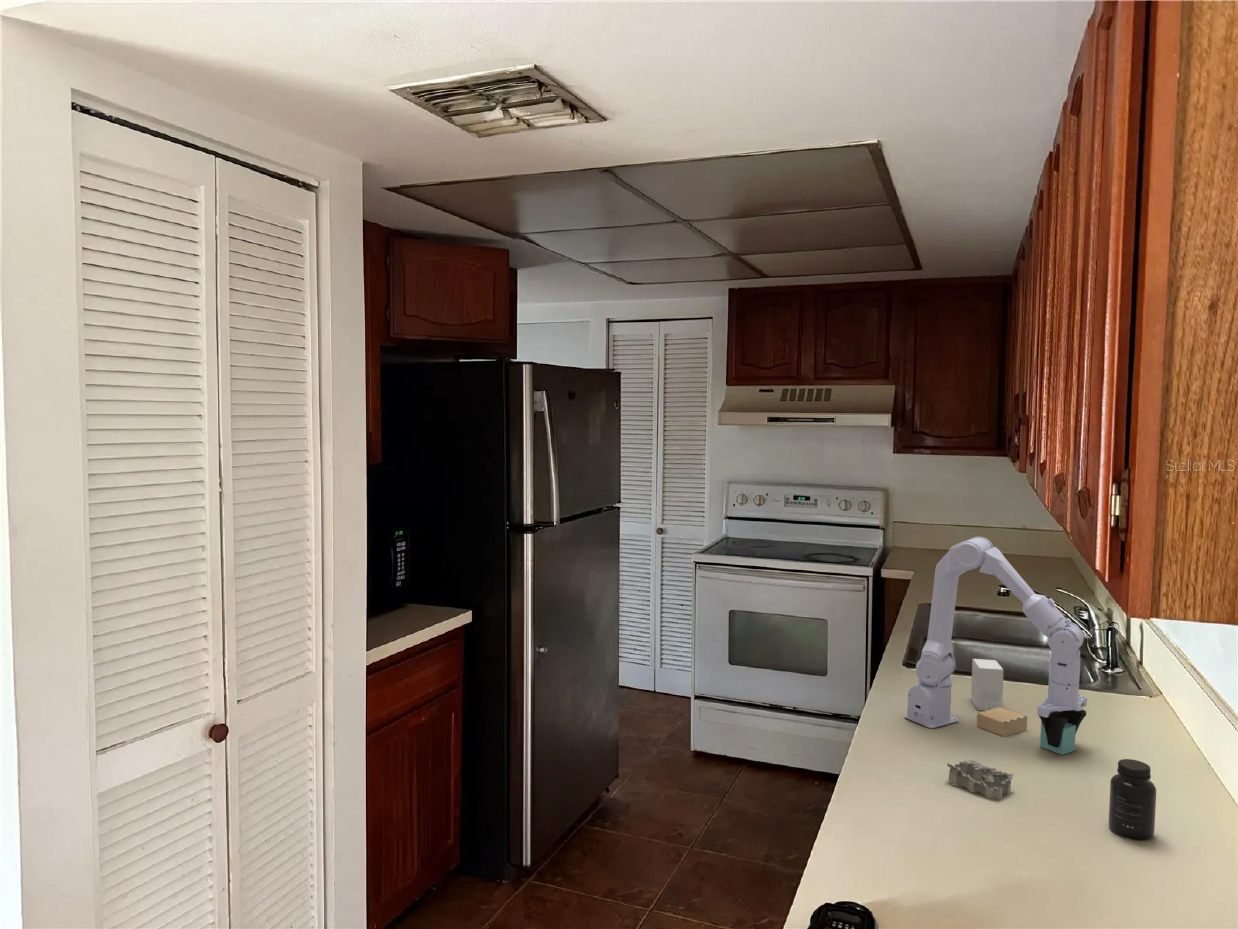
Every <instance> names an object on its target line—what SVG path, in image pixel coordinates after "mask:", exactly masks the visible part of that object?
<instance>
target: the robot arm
mask: <svg viewBox="0 0 1238 929" xmlns="http://www.w3.org/2000/svg"><path fill="white" fill-rule="evenodd" d="M978 567H980V569H979V570H978V572H979V573H983V574H987V575H991V576H995V577H996V578H997V579H998V580H999V581H1000V582H1001V583H1002V584H1003V585H1004V586H1005V588H1007V589H1008V590H1009V591H1010V592H1011V593H1012V594H1013V595H1014V596H1015V597H1016V598H1017V599H1018V600H1019V602H1021V603H1022V612H1023V614H1024V615H1025V616H1026V617H1027V618H1028V620H1030V621H1031V623H1033V625H1034V626H1035V627H1036V628H1037V629H1038V630H1039V632H1041V633H1042V635H1043V636H1045V637H1046V638H1047V645H1048V646H1049V649H1050V658H1049V671H1048V672H1049V673H1048V685H1047V686H1048V688H1047V689H1048V690H1047V698H1046V699H1044V701H1043V702H1042V703H1041V704H1040V705H1037V710H1036V712H1037V713H1036V715H1038V717H1039V719H1040V721H1042V723H1043V725H1044V728H1045V732H1046V736H1047V741H1048V745H1051V746H1053V747H1056V748H1058V747H1059V745H1060V742H1061V737H1062V732H1063V728H1064V726H1065V724H1066V722H1067V723H1070V724H1073V725H1076V733H1075V736H1076V735H1077V732H1078V729H1079V727H1080V725H1081V723H1082V721H1083V720H1084V719H1085V717H1086V716H1087V710H1084V708H1085V707H1087V705H1088V704H1087V703H1088V697H1086V696H1083V695H1082V694H1081V695H1080V694H1079V692H1080V690H1079V688H1080V676H1081V649H1080V648H1081V646H1082V645H1083V643H1084V639H1085V636H1084V633H1083V631H1082V629H1081V628H1080V626H1079V625H1078V624H1077V623H1074V622H1072V620H1071V619H1070V618H1069V617H1065V616H1064V615H1063V614H1062V612H1061V611H1060V610H1059V609H1058V608H1057V606H1055V605H1054V604H1056V602H1055V601H1054V600H1053V598H1051V597H1050V598H1048V597H1047V596H1046V595H1043V594H1037V593H1035V591H1034V590H1033V589H1032V588H1031V587H1030V586H1029V585H1028V583H1027V582H1026V580H1024V579H1023V577H1022V576H1021V575H1020V574H1019V573H1018V572H1017V570H1016V569H1015V568H1014V567H1013V565H1012V564H1011V563H1010V562H1009V560H1007V559H1006V557H1005V556H1004V555H1003V553H1002V552H1001V551H1000V549H999V548H997V547H996V546H994V545H993V543H992V542H991V541H990V540H989V539H988V538H986V537H983V536H974V537H971V538H969V539H967V540H964V541H961V542H959V543H957V544H955V545H952V546H951V547H950V548H949V550H948V552H947V553H946V554H945V555H943V557H942V558H941V559H940V560H939V561H938V563H936V565H935V570H934V578H933V587H932V588H933V589H932V594H931V595H932V598H931V603H930V604H931V605H930V612H929V614H930V615H929V620H928V621H929V623H928V631H927V638H926V642H925V644H924V646H923V648H922V650H921V656H920V658H919V660H918V661H917V663H916V665H915V673H916V676H917V678H918V680H917V683H916V684H915V685H912V687H910V689H909V690H908V694H907V710H906V714H905V715H903V717H904V718H905V719H908V720H910V721H912V722H914V723H917V724H919V725H922V726H924V727H927V728H929V729H935V728H939V727H942V726H947V725H951V724H954V723H958V722H959V718H956V717H955V716H954V717H953V716H951V709H952V708H951V706H952V705H951V704H952V679H951V674H953V673H954V672H955V670H956V660H955V657H954V645H953V643H952V637H953V628H954V620H955V612H956V611H955V610H956V602H957V597H958V596H957V595H958V594H957V593H958V587H959V580H960V579H959V578H960V576H961V575H963V574H965V573H966V572H967V571H971V570H975V569H977V568H978Z"/></svg>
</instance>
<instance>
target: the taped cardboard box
mask: <svg viewBox="0 0 1238 929" xmlns="http://www.w3.org/2000/svg"><path fill="white" fill-rule="evenodd" d="M1027 725H1028V716H1027V715H1022V714H1019V713H1017V712H1014V711H1011V710H1008V709H1005V708H1003V707H1002V708H1000V707H999V708H995V709H991V710H988V711H981V712H977V714H976V727H978V728H980V729H983V730H985V731H989V732H991V733H993V734H996V735H999V736H1000V737H1007V736H1008V737H1009V736H1011V735H1014V734H1017V733H1021V732H1025V731H1027V730H1028V729H1027V727H1028V726H1027Z"/></svg>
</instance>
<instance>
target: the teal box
mask: <svg viewBox="0 0 1238 929" xmlns="http://www.w3.org/2000/svg"><path fill="white" fill-rule="evenodd" d="M1040 721H1041V720H1040ZM1075 733H1076V734H1077V732H1076V725H1073V724H1070V723H1067V722H1066V724H1065V726H1064V728H1063V732H1062V737H1061V742H1060V745H1059V747H1058V748H1056V747H1053V746H1051V745H1048V741H1047V736H1046V732H1045V728H1044V725H1043V723H1042V721H1041V722H1040V736H1039V737H1040V741H1039V747H1040V748H1043V749H1046V750H1048V751H1052V752H1054V753H1056V754H1058V755H1062V756H1063V755H1066V754H1068V753H1069V754H1070V753H1073V752H1074V751H1075V749H1076V748H1075V746H1076V735H1075Z"/></svg>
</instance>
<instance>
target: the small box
mask: <svg viewBox="0 0 1238 929" xmlns="http://www.w3.org/2000/svg"><path fill="white" fill-rule="evenodd" d="M971 664H972V666H971V691H970V692H971V693H970V700H971V701H972V703H973V705H974V706H975V708H976V709H977V711H981V712H984V711H988V710H991V709H995V708H999V707H1000V708H1003V697H1004V696H1003V693H1004V672H1005V671H1004V668H1003V667H1002V666H1001V664H999V662H998V661H997V660H995V659H984V658H983V659H982V658H972V663H971Z"/></svg>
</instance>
